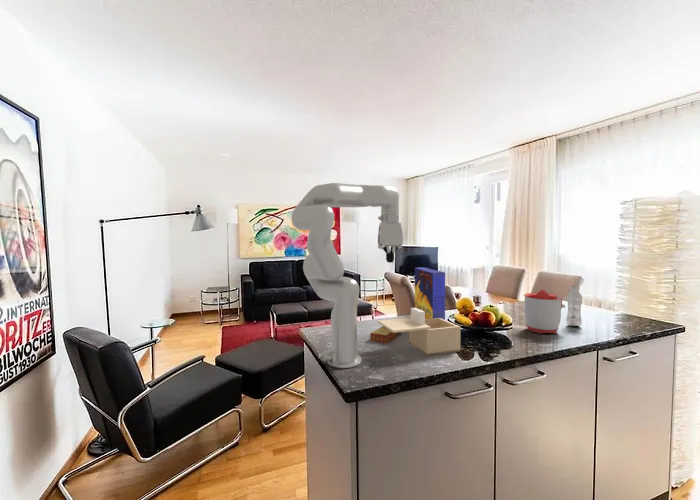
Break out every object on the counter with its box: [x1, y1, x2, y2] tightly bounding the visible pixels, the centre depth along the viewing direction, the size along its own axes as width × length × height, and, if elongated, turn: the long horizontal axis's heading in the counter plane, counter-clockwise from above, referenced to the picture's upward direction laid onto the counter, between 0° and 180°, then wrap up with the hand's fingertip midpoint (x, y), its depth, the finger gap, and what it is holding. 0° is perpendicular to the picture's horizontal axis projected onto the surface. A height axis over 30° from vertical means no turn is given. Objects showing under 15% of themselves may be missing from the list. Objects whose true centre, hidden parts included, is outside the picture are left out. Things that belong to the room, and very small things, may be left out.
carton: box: [369, 325, 402, 345], centre depth 155 cm, size 8×16×4 cm, turn 149°
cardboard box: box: [408, 318, 461, 356], centre depth 141 cm, size 15×15×10 cm
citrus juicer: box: [523, 289, 566, 334], centre depth 162 cm, size 16×17×20 cm
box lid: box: [377, 307, 431, 333], centre depth 136 cm, size 16×16×6 cm
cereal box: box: [414, 266, 446, 320], centre depth 162 cm, size 22×6×30 cm, turn 10°
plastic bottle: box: [565, 285, 583, 327], centre depth 168 cm, size 6×7×20 cm
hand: (390, 262), depth 146 cm, fingers closed
